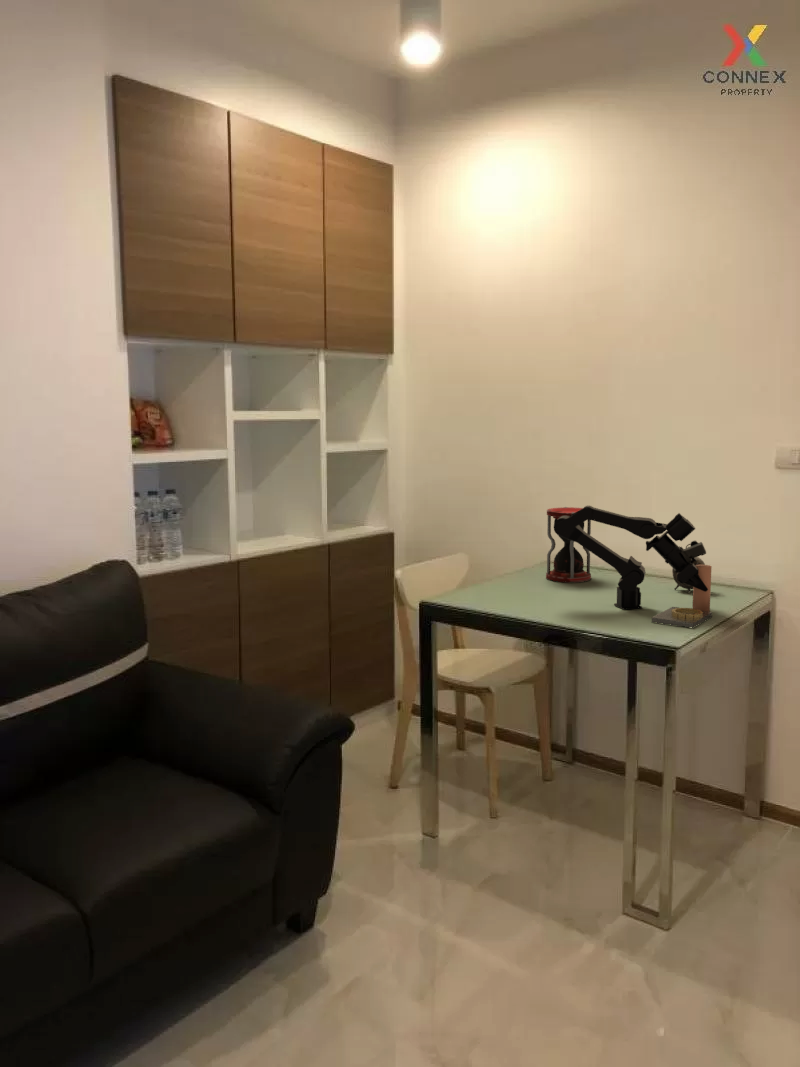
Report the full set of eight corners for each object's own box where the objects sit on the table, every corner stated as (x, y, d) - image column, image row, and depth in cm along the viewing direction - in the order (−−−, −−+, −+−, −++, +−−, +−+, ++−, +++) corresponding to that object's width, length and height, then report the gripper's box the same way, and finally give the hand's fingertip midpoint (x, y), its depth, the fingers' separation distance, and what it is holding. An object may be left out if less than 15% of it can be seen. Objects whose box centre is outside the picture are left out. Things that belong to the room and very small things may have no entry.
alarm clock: (705, 590, 297) (707, 542, 294) (706, 594, 291) (708, 545, 289) (671, 589, 299) (673, 541, 297) (672, 592, 294) (673, 544, 292)
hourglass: (542, 574, 327) (543, 507, 324) (586, 573, 327) (587, 506, 323) (549, 583, 311) (550, 513, 308) (595, 582, 311) (596, 512, 307)
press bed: (692, 628, 249) (692, 619, 248) (651, 622, 256) (651, 614, 256) (711, 617, 261) (712, 608, 261) (672, 611, 269) (672, 603, 268)
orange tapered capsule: (698, 613, 265) (700, 568, 263) (689, 610, 270) (690, 565, 268) (713, 612, 266) (714, 567, 264) (703, 608, 271) (705, 564, 269)
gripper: (690, 538, 257) (728, 577, 255) (690, 529, 275) (726, 565, 273) (661, 563, 261) (699, 602, 259) (663, 552, 278) (698, 589, 276)
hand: (706, 588), depth 267 cm, fingers closed on orange tapered capsule, 5 cm apart
